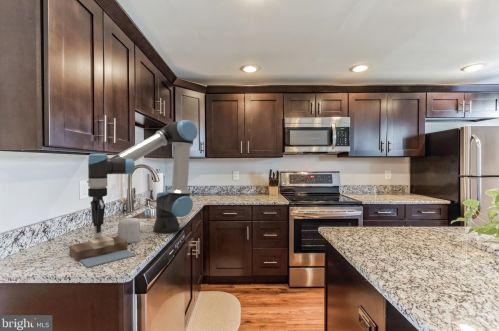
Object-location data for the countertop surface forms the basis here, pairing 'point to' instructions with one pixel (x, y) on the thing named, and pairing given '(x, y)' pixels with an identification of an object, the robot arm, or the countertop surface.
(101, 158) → the robot arm
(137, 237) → the photo printer
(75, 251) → the board
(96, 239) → the birch tile
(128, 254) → the rubber mat
